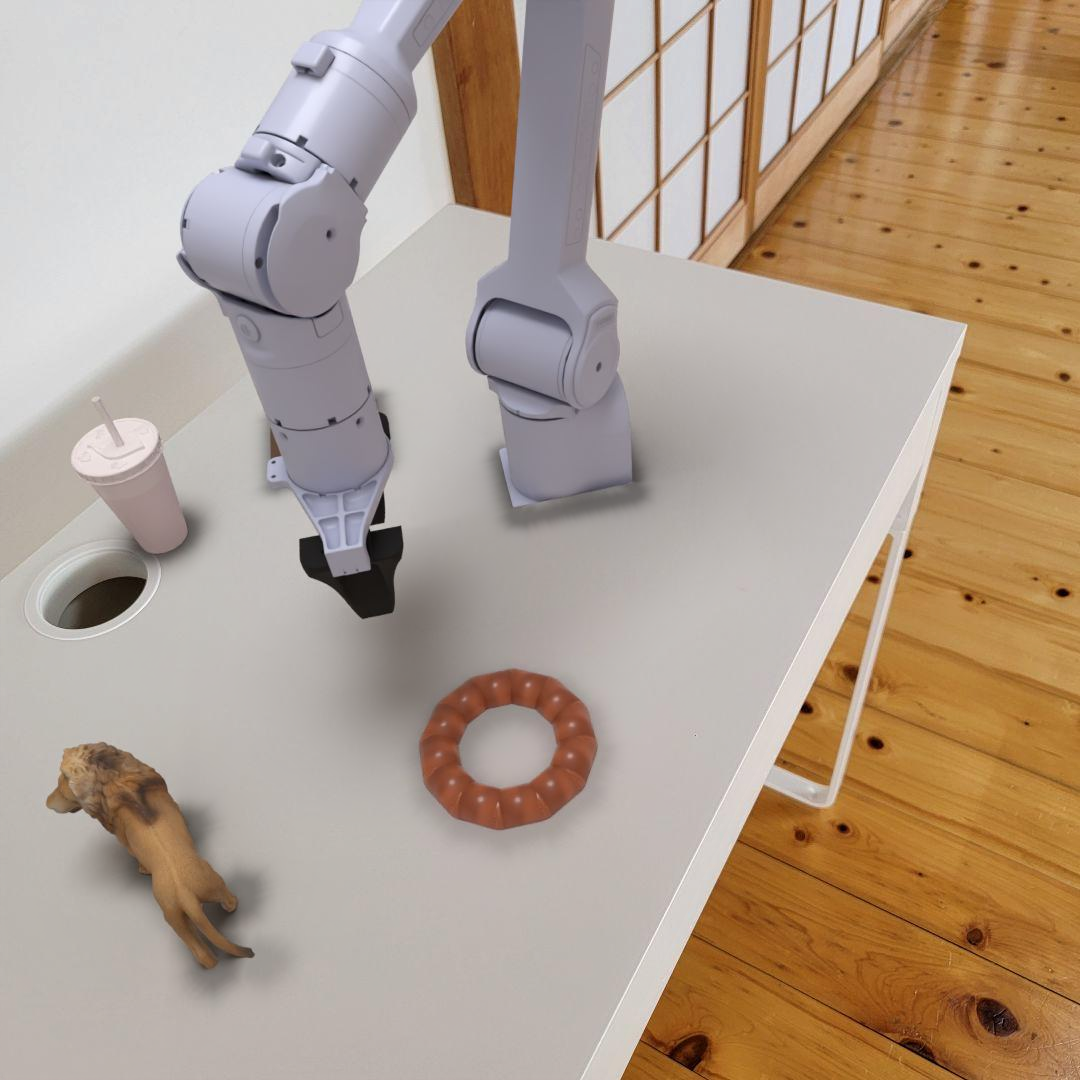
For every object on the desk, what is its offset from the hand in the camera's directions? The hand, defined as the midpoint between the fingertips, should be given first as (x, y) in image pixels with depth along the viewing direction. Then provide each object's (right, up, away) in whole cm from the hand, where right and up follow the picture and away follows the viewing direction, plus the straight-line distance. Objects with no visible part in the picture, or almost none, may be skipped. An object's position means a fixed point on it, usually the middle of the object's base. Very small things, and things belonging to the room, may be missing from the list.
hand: (372, 565), depth 62 cm
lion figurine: (-11, -19, -4) cm, 22 cm away
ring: (+8, -11, -1) cm, 14 cm away
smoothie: (-19, +2, +16) cm, 25 cm away
